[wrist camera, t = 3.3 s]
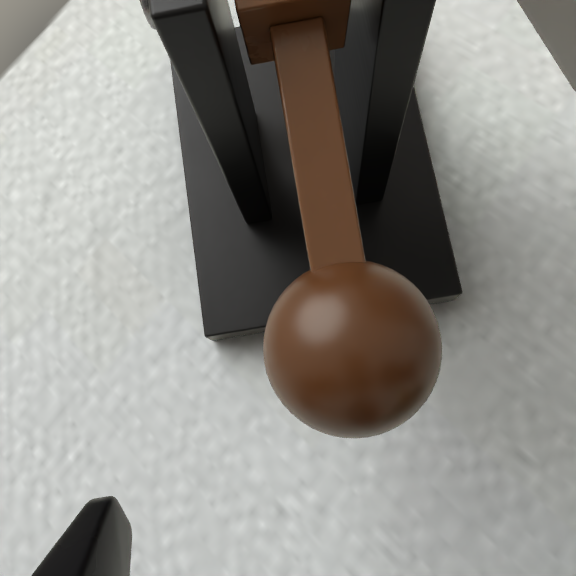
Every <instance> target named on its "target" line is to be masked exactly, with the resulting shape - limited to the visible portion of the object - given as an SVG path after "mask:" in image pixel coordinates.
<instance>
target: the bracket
mask: <svg viewBox="0 0 576 576" xmlns="http://www.w3.org/2000/svg"><path fill="white" fill-rule="evenodd" d="M435 2H436V0H351V6H350V13H349V20H348V27H347V34H346V41H345V47H343V48H340V49H334V50H329V52H330V58H331V64H332V70H333V75H334V81H335V87H336V93H337V99H338V104H339V110H340V116H341V122H342V127H343V133H344V139H345V145H346V151H347V156H348V162H349V168H350V174H351V179H352V185H353V191H354V197H355V202H356V208H357V214H358V220H359V226H360V231H361V237H362V243H363V249H364V254H365V260H366V261H370V262H374V263H377V264H381V265H384V266H386V267H388V268H390V269H393V270H395V271H396V272H398V273H400V274H401V275H403V276H404V277H405V278H407V279H408V280H409V281H410V282H412V283H413V284H414V285H415V286H416V287H417V288H418V289H419V290H420V292H421V293H422V294H423V296H424V297H425V298H426V300H427V301H428V303H429V304H434V303H440V302H446V301H452V300H455V299H456V298H457V297H458V296H460V295H461V294H462V288H461V284H460V280H459V276H458V271H457V267H456V263H455V259H454V255H453V250H452V246H451V242H450V238H449V233H448V229H447V225H446V221H445V217H444V212H443V208H442V204H441V200H440V195H439V191H438V187H437V183H436V179H435V174H434V170H433V166H432V162H431V157H430V153H429V149H428V145H427V141H426V136H425V132H424V128H423V124H422V119H421V115H420V111H419V107H418V103H417V98H416V94H415V90H414V86H413V84H414V81H415V77H416V73H417V69H418V66H419V62H420V58H421V54H422V51H423V47H424V43H425V39H426V36H427V32H428V28H429V24H430V21H431V17H432V13H433V9H434V6H435ZM140 3H141V6H142V9H143V11H144V14H145V16H146V19H147V21H148V23H149V24H150V26H151V27H152V28H153V29H156V30H157V32H158V34H159V36H160V38H161V41H162V43H163V45H164V47H165V49H166V51H167V53H168V56H169V58H170V61H171V69H172V77H173V85H174V93H175V101H176V109H177V117H178V125H179V133H180V141H181V149H182V157H183V165H184V173H185V181H186V189H187V197H188V205H189V213H190V221H191V229H192V237H193V245H194V253H195V261H196V270H197V278H198V286H199V294H200V302H201V310H202V318H203V326H204V334H205V337H207V338H208V339H210V340H212V341H215V340H221V339H227V338H233V337H239V336H245V335H251V334H256V333H262V332H265V328H266V324H267V321H268V318H269V315H270V313H271V310H272V308H273V306H274V304H275V303H276V301H277V300H278V298H279V296H280V295H281V294H282V293H283V291H284V290H285V289H286V288H287V287H288V286H289V285H290V284H291V283H292V282H293V281H294V280H295V279H297V278H298V277H299V276H301V275H302V274H303V273H305V272H307V271H309V270H310V266H309V260H308V254H307V249H306V243H305V237H304V231H303V225H302V219H301V214H300V208H299V202H298V196H297V190H296V185H295V179H294V173H293V167H292V161H291V156H290V150H289V144H288V138H287V132H286V126H285V121H284V115H283V109H282V103H281V97H280V92H279V86H278V80H277V74H276V68H275V62H274V61H271V62H265V63H260V64H255V65H251V64H250V61H249V57H248V54H247V50H246V46H245V42H244V38H243V34H242V31H241V27H235V28H234V24H233V20H232V16H231V12H230V8H229V5H228V1H227V0H140Z"/></svg>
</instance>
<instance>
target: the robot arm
mask: <svg viewBox="0 0 576 576" xmlns="http://www.w3.org/2000/svg"><path fill="white" fill-rule="evenodd" d="M131 545H132V530H131V525H130V523H129V521H128V519H127V517H126V515H125V513H124V511H123V510H122V508H121V506H120V504H119V502H118V501H117V499H116V498H115V497H113V496H108V497H102V498H95V499H92V500H90V501H89V502H88V503H87V504H86V505H85V506H84V507H83V509H82V510H81V511H80V513H79V514H78V515H77V517H76V518H75V519H74V520H73V522H72V523H71V524H70V526H69V527H68V528H67V530H66V531H65V532H64V534H63V535H62V536H61V538H60V539H59V540H58V541H57V543H56V544H55V545H54V547H53V548H52V549H51V551H50V552H49V553H48V555H47V556H46V557H45V559H44V560H43V561H42V562H41V564H40V565H39V566H38V568H37V569H36V570H35V572H34V573H33V574H32V576H130V560H131Z"/></svg>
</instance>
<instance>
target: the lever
mask: <svg viewBox="0 0 576 576" xmlns="http://www.w3.org/2000/svg"><path fill="white" fill-rule="evenodd" d="M235 6H236V12H237V15H238V19H239V23H240V27H241V31H242V34H243V38H244V42H245V46H246V50H247V54H248V57H249V61H250V64H251V65H255V64H260V63H265V62H271V61H274V62H275V68H276V74H277V80H278V86H279V92H280V97H281V103H282V109H283V115H284V121H285V126H286V132H287V138H288V144H289V150H290V156H291V161H292V167H293V173H294V179H295V185H296V190H297V196H298V202H299V208H300V214H301V219H302V225H303V231H304V237H305V243H306V249H307V254H308V260H309V266H310V270H309V271H307V272H305V273H303V274H302V275H301V276H299V277H298V278H297V279H295V280H294V281H293V282H292V283H291V284H290V285H289V286H288V287H287V288H286V289H285V290H284V291H283V293H282V294H281V295H280V296H279V298H278V300H277V301H276V303H275V304H274V306H273V308H272V310H271V313H270V315H269V318H268V321H267V324H266V328H265V334H264V340H263V354H264V363H265V368H266V372H267V375H268V378H269V381H270V383H271V386H272V387H273V389H274V391H275V393H276V395H277V396H278V398H279V399H280V401H281V402H282V403H283V405H284V406H285V407H286V408H287V409H288V410H289V411H290V412H291V413H292V414H293V415H294V416H295V417H297V418H298V419H299V420H300V421H302V422H303V423H305V424H306V425H308V426H310V427H311V428H313V429H315V430H318V431H320V432H322V433H325V434H329V435H332V436H337V437H342V438H365V437H371V436H375V435H379V434H382V433H385V432H388V431H390V430H392V429H394V428H396V427H398V426H400V425H401V424H403V423H404V422H405V421H407V420H408V419H410V418H411V417H412V416H413V415H414V414H415V413H416V412H417V411H418V410H419V409H420V408H421V407H422V405H423V404H424V403H425V402H426V400H427V399H428V397H429V395H430V394H431V392H432V390H433V388H434V386H435V383H436V381H437V378H438V375H439V371H440V366H441V360H442V342H441V334H440V330H439V326H438V322H437V320H436V317H435V315H434V312H433V310H432V308H431V306H430V305H429V303H428V301H427V300H426V298H425V297H424V296H423V294H422V293H421V292H420V290H419V289H418V288H417V287H416V286H415V285H414V284H413V283H412V282H410V281H409V280H408V279H407V278H405V277H404V276H403V275H401V274H400V273H398V272H396V271H395V270H393V269H390V268H388V267H386V266H384V265H381V264H377V263H374V262H370V261H366V260H365V254H364V249H363V243H362V237H361V231H360V226H359V220H358V214H357V208H356V202H355V197H354V191H353V185H352V179H351V174H350V168H349V162H348V156H347V151H346V145H345V139H344V133H343V127H342V122H341V116H340V110H339V104H338V99H337V93H336V87H335V81H334V75H333V70H332V64H331V58H330V52H329V50H334V49H340V48H343V47H345V41H346V34H347V27H348V20H349V13H350V6H351V0H235Z"/></svg>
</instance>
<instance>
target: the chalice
mask: <svg viewBox="0 0 576 576" xmlns="http://www.w3.org/2000/svg"><path fill="white" fill-rule="evenodd" d="M517 1H518V3H519V4H520V6H521V8H522V9H523V11H524V12H525V14H526V15H527V17H528V19H529V20H530V22H531V23H532V25H533V26H534V28H535V30H536V31H537V33H538V34H539V36H540V37H541V39H542V41H543V42H544V44H545V45H546V47H547V48H548V50H549V52H550V53H551V55H552V56H553V58H554V59H555V61H556V63H557V64H558V66H559V67H560V69H561V70H562V72H563V74H564V75H565V77H566V78H567V80H568V81H569V83H570V85H571V86H572V88H573V89H574V90H575V91H576V0H517Z"/></svg>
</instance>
